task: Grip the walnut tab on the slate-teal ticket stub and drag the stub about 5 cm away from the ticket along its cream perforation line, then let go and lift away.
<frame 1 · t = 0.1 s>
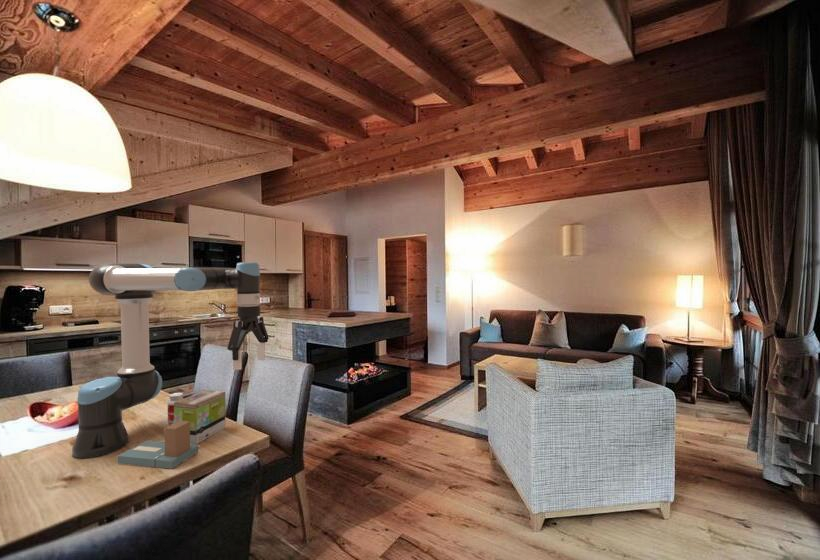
hand: (249, 364, 132), 28 cm above the table, fingers open, 13 cm apart
ticket: (151, 456, 122), on the table
tea box: (201, 435, 138), on the table
stub: (177, 441, 120), point 6 cm above the table, slide at 0.0 cm
pill bottle: (176, 421, 152), on the table
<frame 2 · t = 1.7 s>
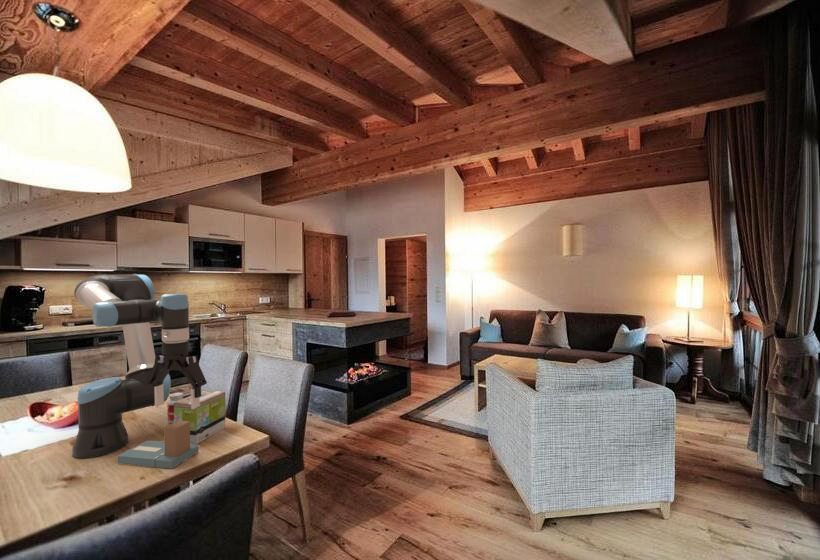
hand: (177, 406, 119), 18 cm above the table, fingers open, 13 cm apart
nothing on the table moved.
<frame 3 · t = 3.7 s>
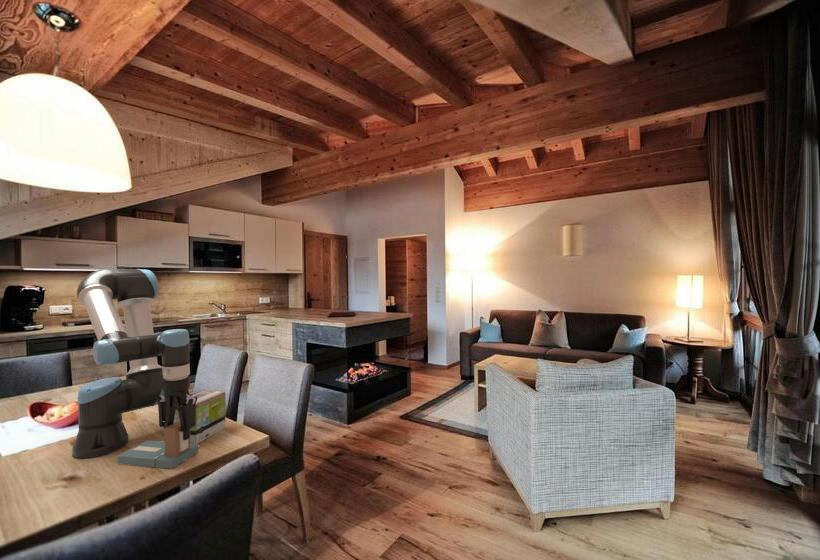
hand: (177, 448, 120), 4 cm above the table, fingers closed on stub, 4 cm apart
stub: (177, 441, 120), point 6 cm above the table, slide at 0.0 cm, touching gripper
everything else where it was.
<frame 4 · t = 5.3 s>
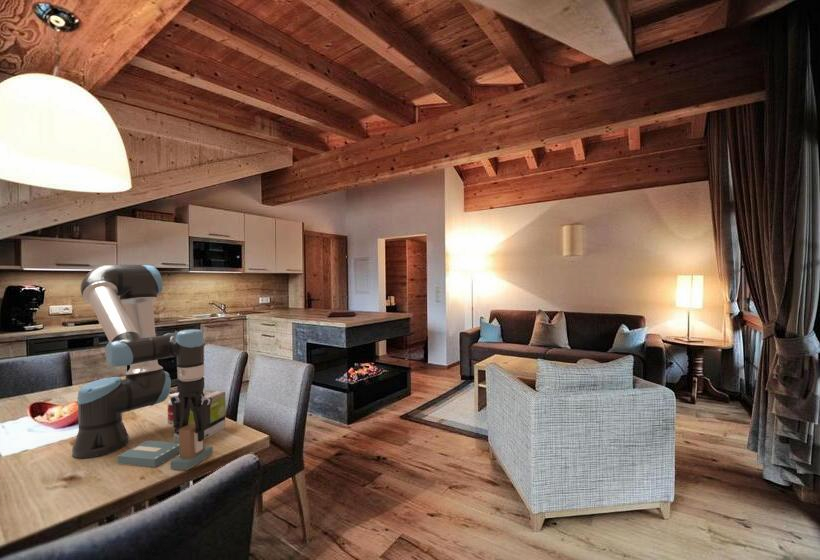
hand: (192, 449, 119), 4 cm above the table, fingers closed on stub, 4 cm apart
stub: (192, 443, 119), point 6 cm above the table, slide at 5.4 cm, touching gripper
everything else where it was.
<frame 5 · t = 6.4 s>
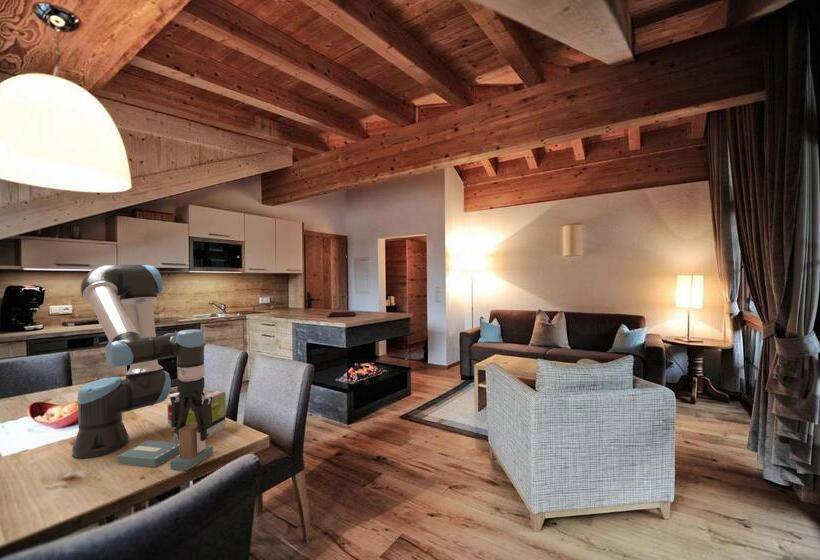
hand: (192, 449, 119), 4 cm above the table, fingers open, 6 cm apart
stub: (192, 443, 119), point 6 cm above the table, slide at 5.5 cm
everything else where it was.
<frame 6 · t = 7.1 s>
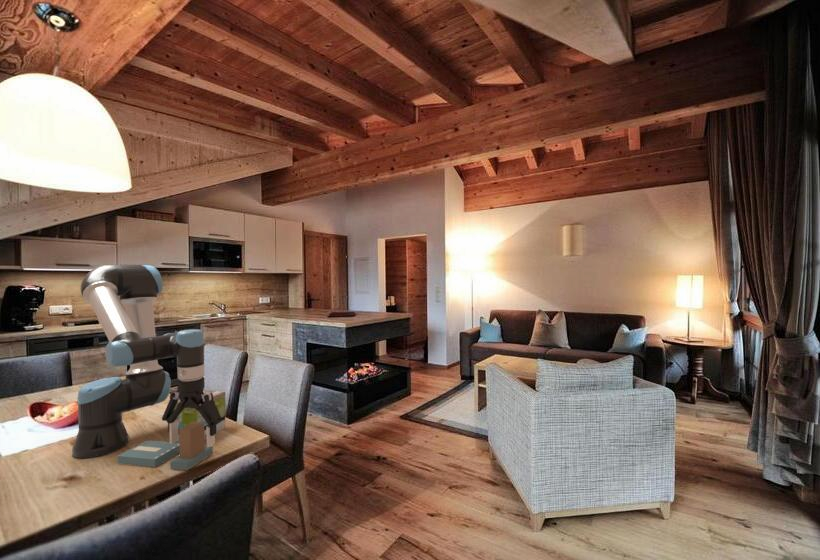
hand: (192, 443, 119), 6 cm above the table, fingers open, 13 cm apart
nothing on the table moved.
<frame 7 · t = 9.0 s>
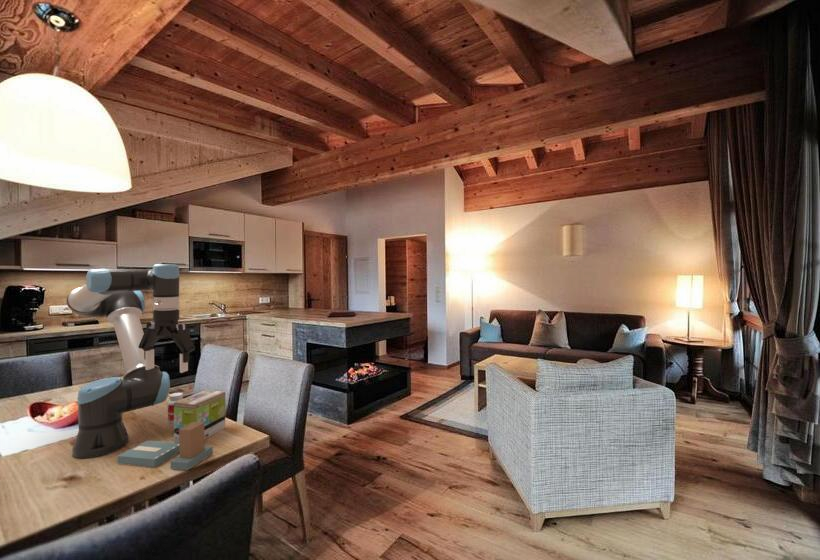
hand: (166, 370, 127), 27 cm above the table, fingers open, 13 cm apart
nothing on the table moved.
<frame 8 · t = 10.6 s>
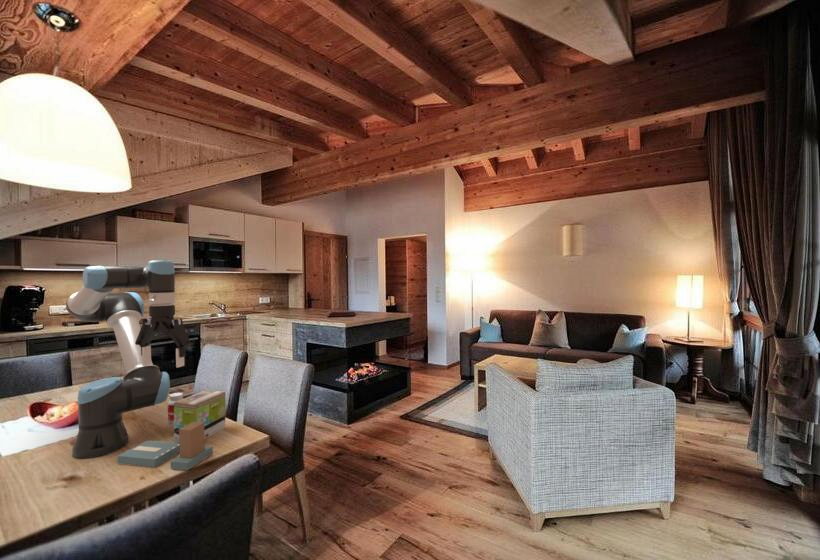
hand: (163, 365, 128), 29 cm above the table, fingers open, 13 cm apart
nothing on the table moved.
at the end: stub slide at 5.5 cm; the gripper is holding nothing; tea box moved 0.3 cm from its start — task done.
